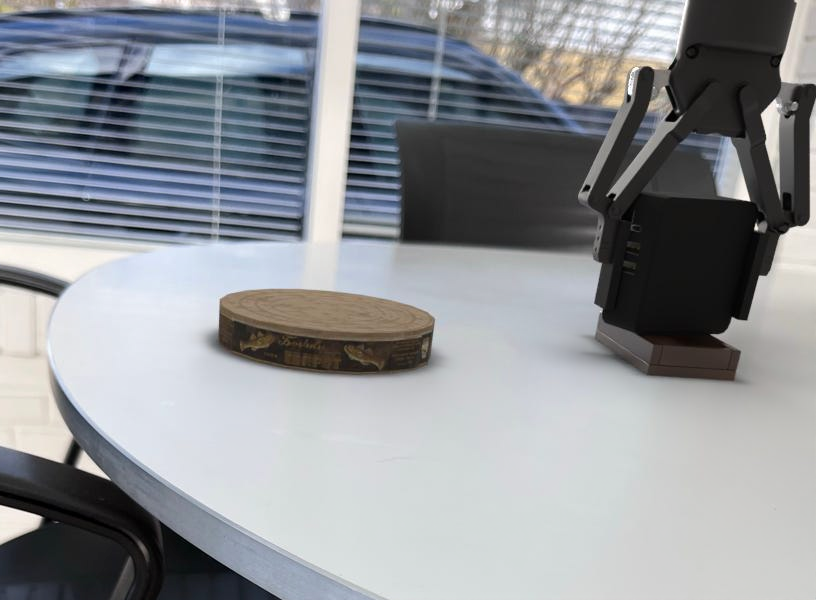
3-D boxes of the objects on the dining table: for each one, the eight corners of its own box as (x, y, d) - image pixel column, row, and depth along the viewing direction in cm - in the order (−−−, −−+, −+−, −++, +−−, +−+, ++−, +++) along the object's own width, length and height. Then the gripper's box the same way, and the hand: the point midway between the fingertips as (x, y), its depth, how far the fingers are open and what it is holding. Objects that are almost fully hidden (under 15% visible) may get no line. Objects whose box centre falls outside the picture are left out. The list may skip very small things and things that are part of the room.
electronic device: (598, 324, 85) (625, 189, 80) (692, 323, 89) (722, 195, 85) (633, 335, 82) (663, 196, 77) (728, 334, 86) (762, 202, 81)
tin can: (180, 353, 74) (181, 309, 73) (265, 318, 88) (267, 280, 87) (397, 389, 70) (402, 344, 69) (451, 347, 84) (456, 308, 83)
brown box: (670, 346, 93) (677, 316, 92) (733, 383, 81) (742, 350, 80) (593, 340, 92) (599, 311, 91) (646, 377, 80) (653, 344, 79)
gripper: (604, -34, 70) (544, 310, 80) (924, 4, 73) (827, 332, 83) (571, -24, 76) (520, 293, 87) (866, 10, 79) (782, 313, 89)
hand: (670, 312), depth 85 cm, fingers closed on electronic device, 10 cm apart
